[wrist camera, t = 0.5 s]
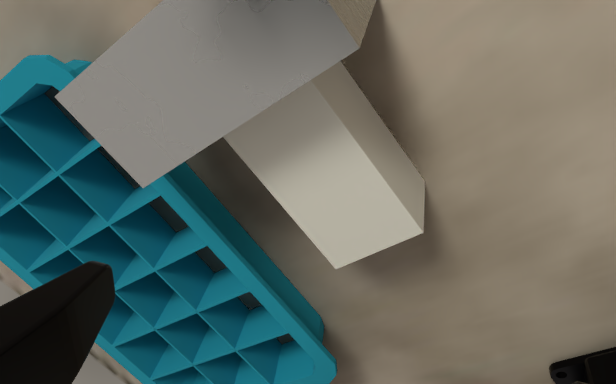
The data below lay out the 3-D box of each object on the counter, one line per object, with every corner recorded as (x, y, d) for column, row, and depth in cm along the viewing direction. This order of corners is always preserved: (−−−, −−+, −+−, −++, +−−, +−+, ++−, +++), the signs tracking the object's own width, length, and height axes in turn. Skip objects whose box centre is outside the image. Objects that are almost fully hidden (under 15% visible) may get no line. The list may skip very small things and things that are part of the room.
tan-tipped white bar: (425, 181, 22) (423, 232, 19) (347, 217, 24) (335, 269, 21) (271, -38, 19) (242, -14, 16) (194, 25, 20) (155, 58, 18)
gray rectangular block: (378, -6, 18) (359, 48, 14) (200, 117, 23) (142, 188, 18) (310, -113, 17) (265, -91, 12) (134, 40, 21) (54, 96, 17)
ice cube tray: (205, 380, 34) (187, 422, 32) (-51, 142, 27) (-100, 174, 24) (355, 332, 29) (347, 378, 26) (85, 17, 21) (41, 42, 19)
